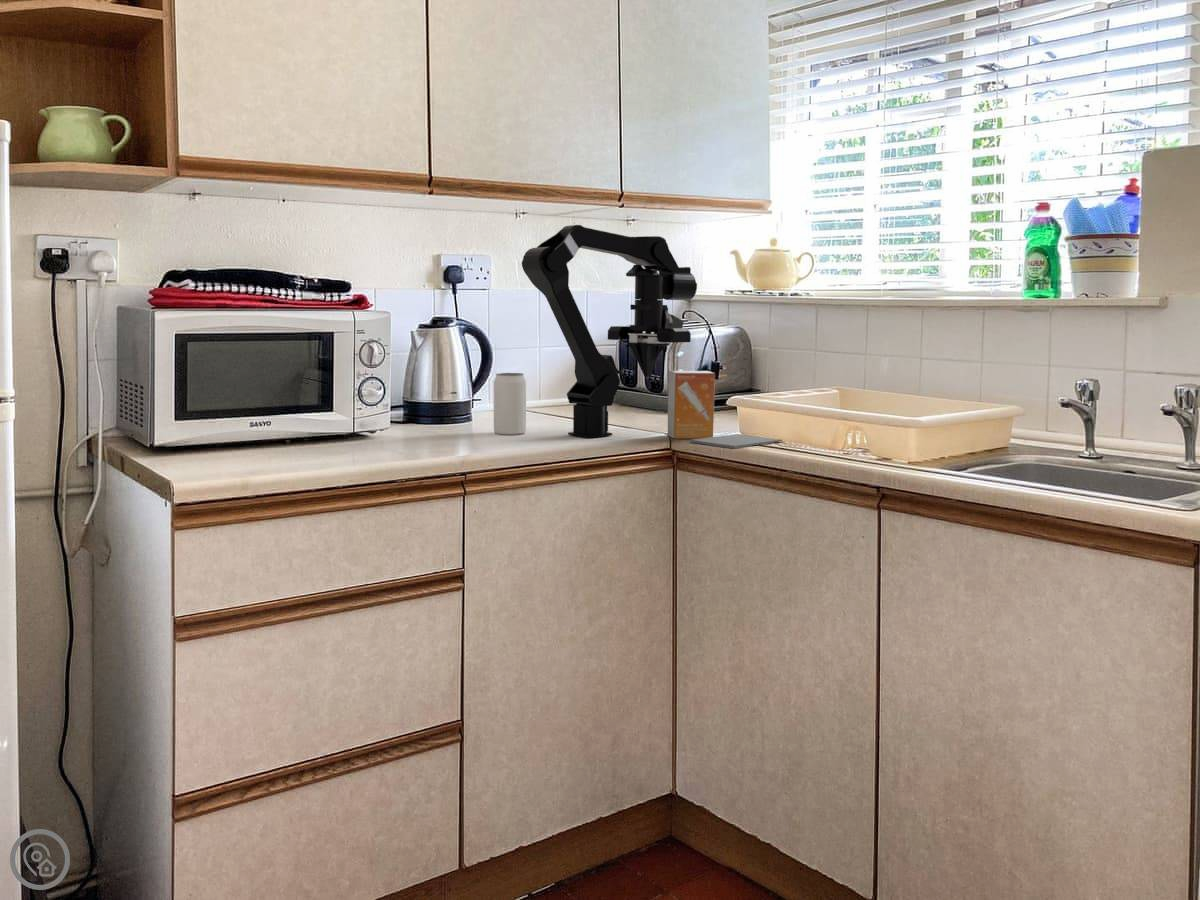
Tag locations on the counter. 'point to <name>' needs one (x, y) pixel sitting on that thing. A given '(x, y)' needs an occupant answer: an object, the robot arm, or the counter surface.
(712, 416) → the small box
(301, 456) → the counter surface
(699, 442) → the mat
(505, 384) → the can
